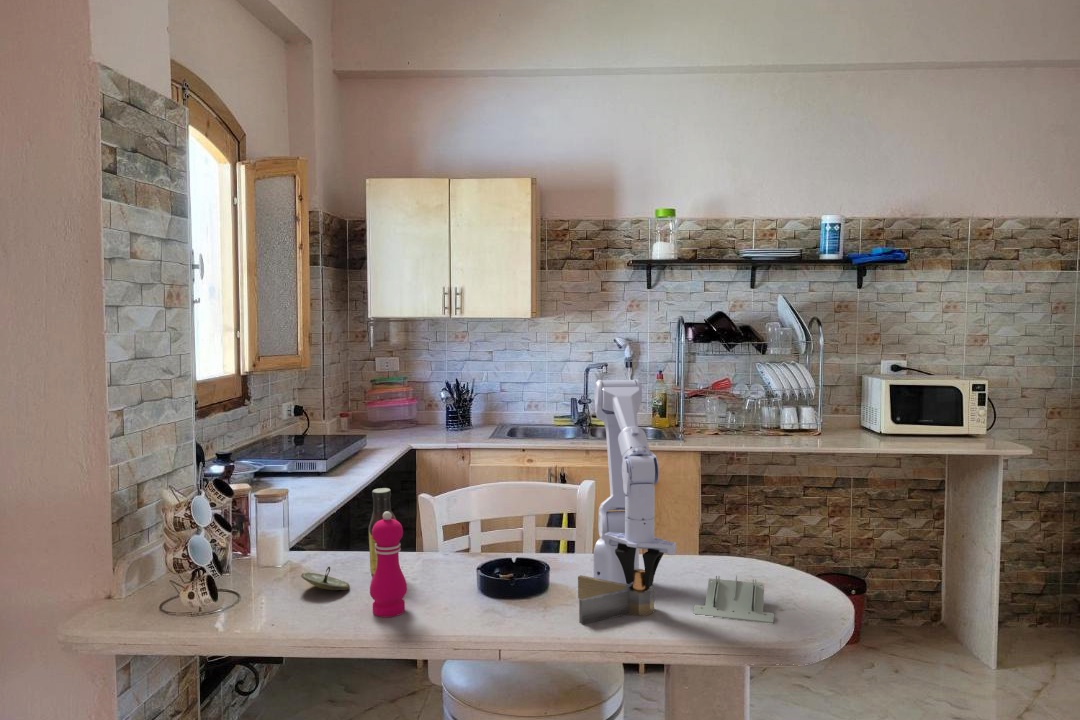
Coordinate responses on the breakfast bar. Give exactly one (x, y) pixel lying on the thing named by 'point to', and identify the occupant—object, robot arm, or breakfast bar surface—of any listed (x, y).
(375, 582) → the pepper mill
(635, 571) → the hinge pin
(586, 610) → the hinge
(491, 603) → the breakfast bar surface
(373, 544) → the sauce bottle
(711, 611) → the metal bracket
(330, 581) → the lid
